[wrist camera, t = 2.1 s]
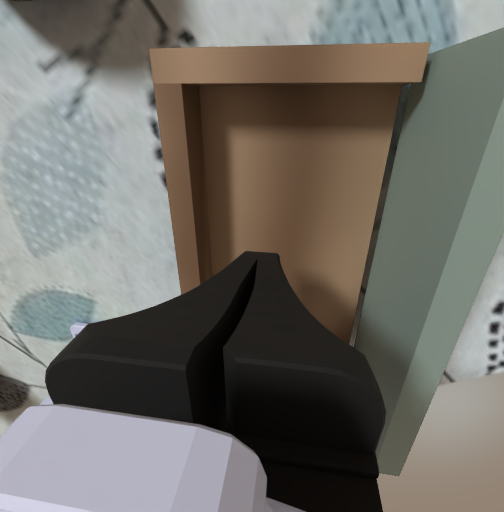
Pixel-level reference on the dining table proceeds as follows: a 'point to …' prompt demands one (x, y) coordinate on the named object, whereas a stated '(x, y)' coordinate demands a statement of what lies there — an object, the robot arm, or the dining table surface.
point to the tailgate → (434, 233)
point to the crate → (281, 159)
